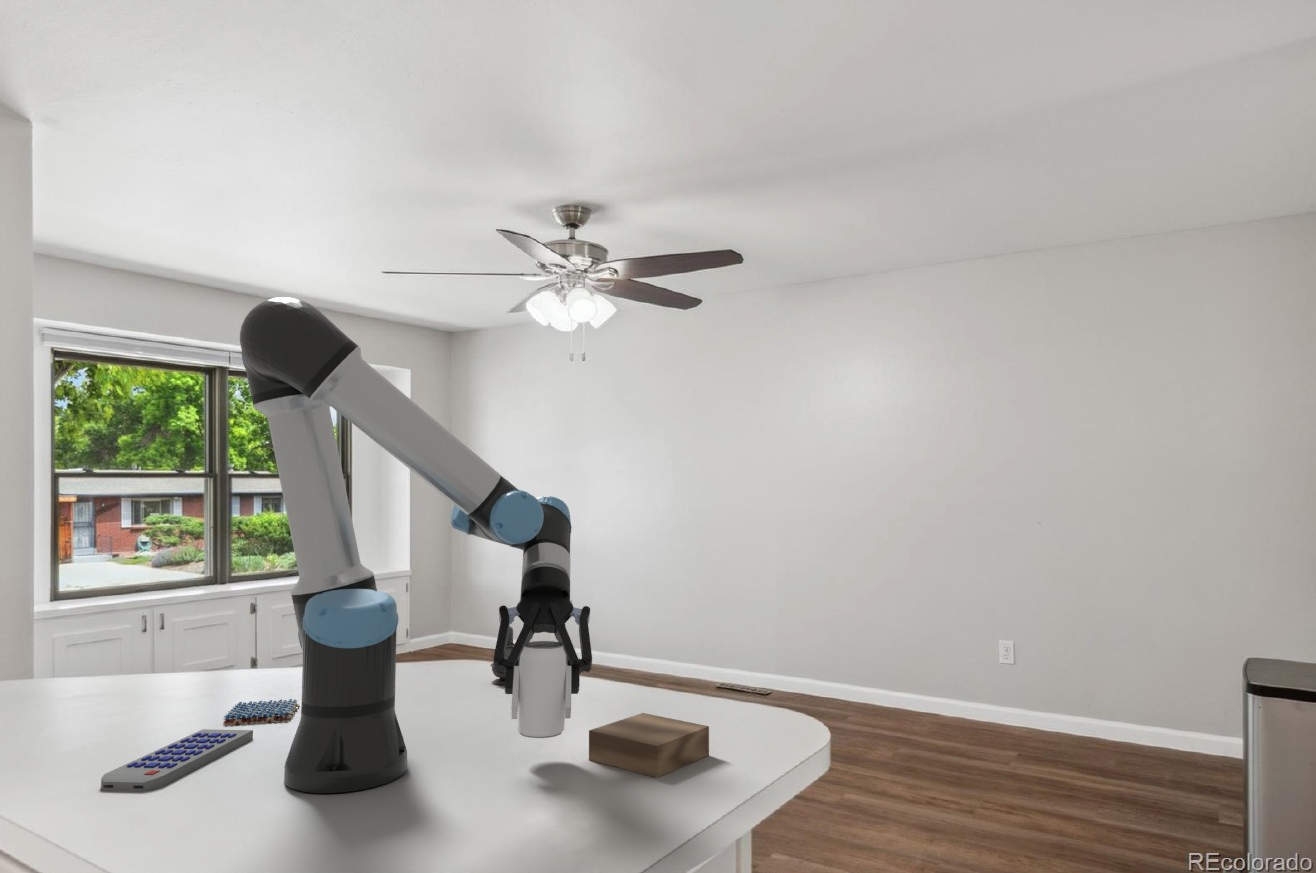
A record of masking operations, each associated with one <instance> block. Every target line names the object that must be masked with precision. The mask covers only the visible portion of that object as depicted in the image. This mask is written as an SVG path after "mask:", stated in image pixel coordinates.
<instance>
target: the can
mask: <svg viewBox="0 0 1316 873" xmlns="http://www.w3.org/2000/svg"><path fill="white" fill-rule="evenodd" d="M523 646H524V648H523V651H522V652H521V655H520V666H519V697H518V714H517V725H516V726H517V727H516V728H517V729H516V730H517V732H518V733H519V734H520V735H521V736H522V737H526V738H530V739H531V738H533V739H546V738H547V739H548V738H554V737H557V736H560V735H562V733H563V732H564V730H565V723H566V722H565V720H566V718H565V686H566V666H567V663H566V653H565V651H564V649H563V646H564V644H563V643H560V642H558V641H553V640H552V641H551V640H537V641H534V640H533V641H530V642H527V643H524V644H523Z"/></svg>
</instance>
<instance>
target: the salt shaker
mask: <svg viewBox="0 0 1316 873" xmlns="http://www.w3.org/2000/svg"><path fill="white" fill-rule="evenodd" d="M514 645H515V643H514V628H513V627H512V626H510V625H509V635H508V641H507V646H506V652H505V657H504V659H508V657H509V655H510V653H511V651H512V649H513V647H514ZM518 666H520V663H519V665H518ZM490 667H491V671H492V673H493V675H494V677H497V678H496V679H494V680H492V681H491V684H492V685H493V686H501V687H502V686H504V687H505V673H504V672H502V671H500V672H496V671H494V662H492V663H490Z"/></svg>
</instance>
